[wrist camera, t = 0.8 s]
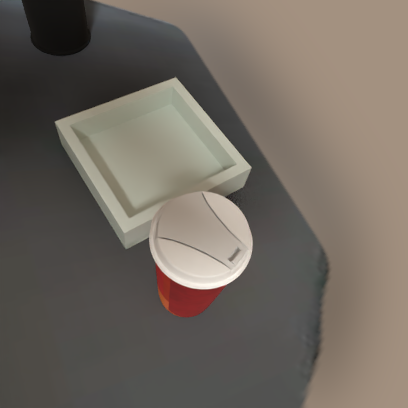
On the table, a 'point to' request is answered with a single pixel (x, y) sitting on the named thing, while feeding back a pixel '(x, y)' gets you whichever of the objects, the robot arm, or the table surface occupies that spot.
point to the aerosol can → (57, 25)
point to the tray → (149, 155)
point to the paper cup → (197, 250)
